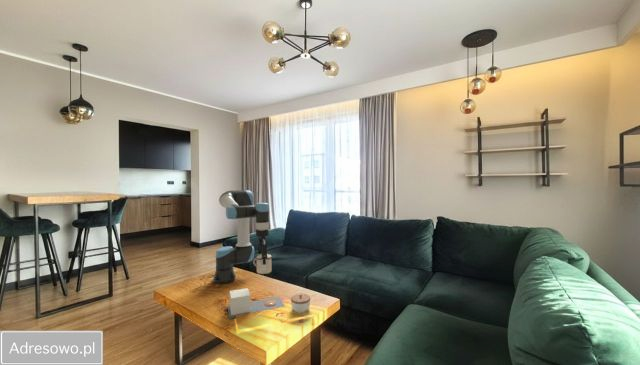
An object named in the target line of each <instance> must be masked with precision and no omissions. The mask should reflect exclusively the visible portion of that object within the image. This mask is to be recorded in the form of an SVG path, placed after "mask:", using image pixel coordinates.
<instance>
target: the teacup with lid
mask: <svg viewBox="0 0 640 365" xmlns="http://www.w3.org/2000/svg"><path fill="white" fill-rule="evenodd" d="M261 258H262V254H260V255H259V254H258V255H257V256H256V257H254V258H253V260H252V261H253V262H252V263H253V265H254V266H255V268H256V273H257V274H259V275H264V274H266V275H267V274H270V273H271V272H272V263H273V262H272V258H273V257H272V255H271V254H268V253H267V258H266V270H261Z"/></svg>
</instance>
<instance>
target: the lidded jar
mask: <svg viewBox="0 0 640 365" xmlns="http://www.w3.org/2000/svg"><path fill="white" fill-rule="evenodd" d="M290 304H291V309H292V310H293V311H294V312H295V313H299V314H300V313H301V314H302V313H306V312H307V311H308V310H309V309H310V305H311V296H310V295H309V294H307V293H296V294H293V295H291V297H290Z"/></svg>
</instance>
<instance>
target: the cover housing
mask: <svg viewBox="0 0 640 365" xmlns="http://www.w3.org/2000/svg"><path fill="white" fill-rule="evenodd" d="M251 298H252V297H251V293H250V290H249V288H247V287H246V288H239V289H233V290H229V306H230V312H231V315H236V314H241V313H246V312H251V302H252V300H251Z"/></svg>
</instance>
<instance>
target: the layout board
mask: <svg viewBox="0 0 640 365" xmlns="http://www.w3.org/2000/svg"><path fill="white" fill-rule="evenodd" d="M284 307H286V305H285V304H284V302H283V300H282V299H281V297H280V296H277V297H271V298H265V299H260V300H253V301H251V312H246V313H241V314H236V315H231V312H230V305H228V306H227V312H228V319H229V320H233V319H236V318H237V316H238V317H239V316H243V315H248V314H252V313H258V312H263V311H269V310H274V309H278V308H284Z"/></svg>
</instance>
